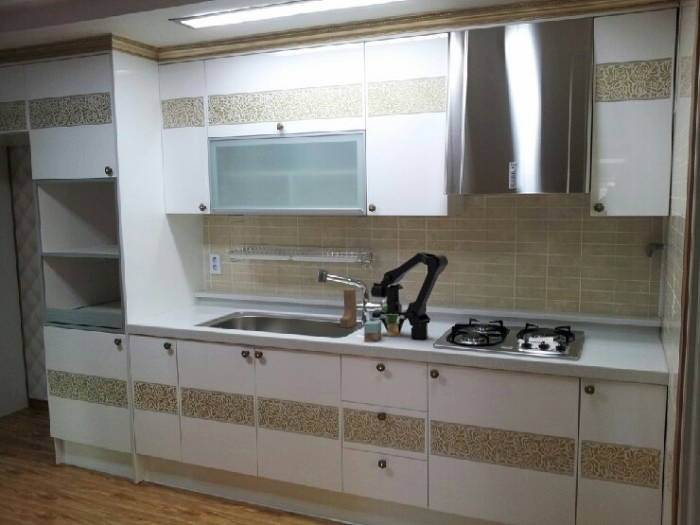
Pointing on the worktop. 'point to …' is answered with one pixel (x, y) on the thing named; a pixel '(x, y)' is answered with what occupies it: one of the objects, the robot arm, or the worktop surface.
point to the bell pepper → (390, 318)
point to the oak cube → (393, 329)
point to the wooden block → (349, 309)
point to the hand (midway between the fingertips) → (394, 332)
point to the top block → (372, 327)
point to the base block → (372, 337)
